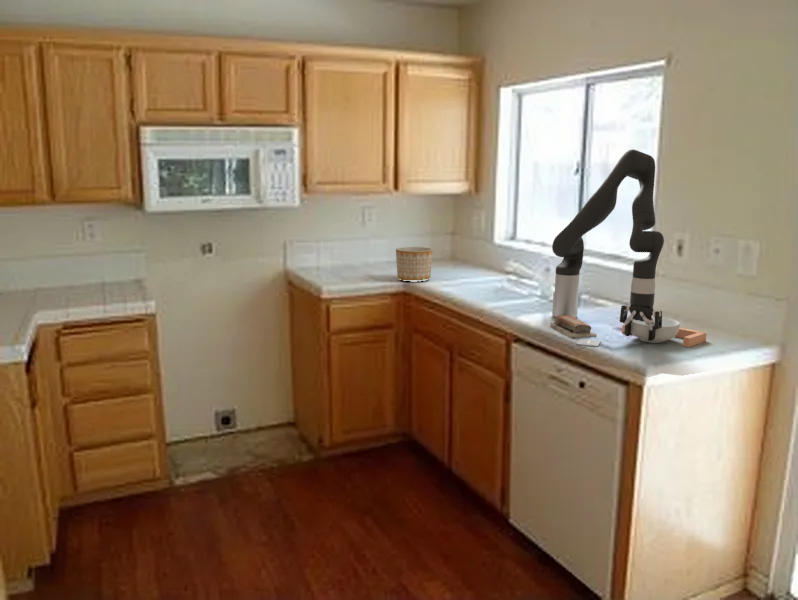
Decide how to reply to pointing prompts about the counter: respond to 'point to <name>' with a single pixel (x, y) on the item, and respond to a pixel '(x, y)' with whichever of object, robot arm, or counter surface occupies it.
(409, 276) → the planter
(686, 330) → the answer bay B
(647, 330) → the cereal bowl
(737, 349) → the counter surface
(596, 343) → the tile
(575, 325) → the packaged product
